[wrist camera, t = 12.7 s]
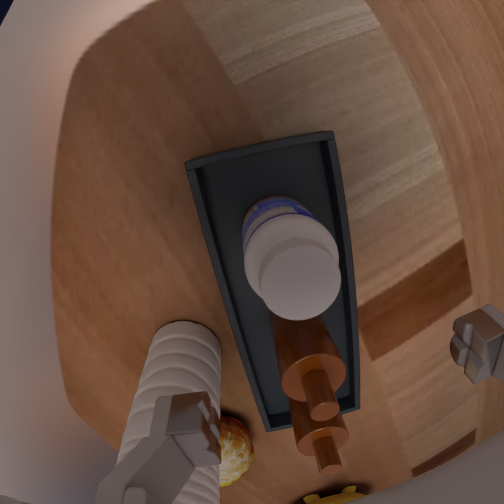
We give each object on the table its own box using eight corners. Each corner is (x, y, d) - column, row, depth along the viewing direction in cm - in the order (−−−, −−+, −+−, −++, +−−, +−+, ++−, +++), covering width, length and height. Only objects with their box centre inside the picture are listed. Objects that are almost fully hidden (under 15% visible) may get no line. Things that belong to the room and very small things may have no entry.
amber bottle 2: (287, 400, 30) (306, 488, 20) (280, 371, 29) (300, 465, 19) (328, 390, 30) (357, 474, 20) (325, 360, 29) (359, 449, 19)
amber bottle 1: (273, 343, 28) (293, 440, 17) (263, 301, 26) (283, 398, 16) (321, 331, 28) (360, 422, 17) (315, 289, 26) (360, 377, 16)
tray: (353, 393, 32) (360, 409, 29) (264, 415, 32) (266, 432, 30) (323, 130, 22) (333, 130, 20) (189, 159, 22) (184, 162, 20)
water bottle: (174, 306, 26) (109, 629, 3) (235, 343, 28) (254, 639, 5) (131, 365, 29) (66, 606, 5) (185, 395, 30) (167, 630, 7)
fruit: (273, 445, 34) (260, 501, 27) (201, 444, 37) (183, 492, 30) (234, 393, 30) (212, 460, 23) (155, 396, 33) (128, 450, 26)
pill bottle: (321, 244, 25) (369, 304, 16) (259, 273, 25) (275, 348, 16) (294, 181, 23) (335, 211, 14) (228, 213, 23) (226, 263, 14)
